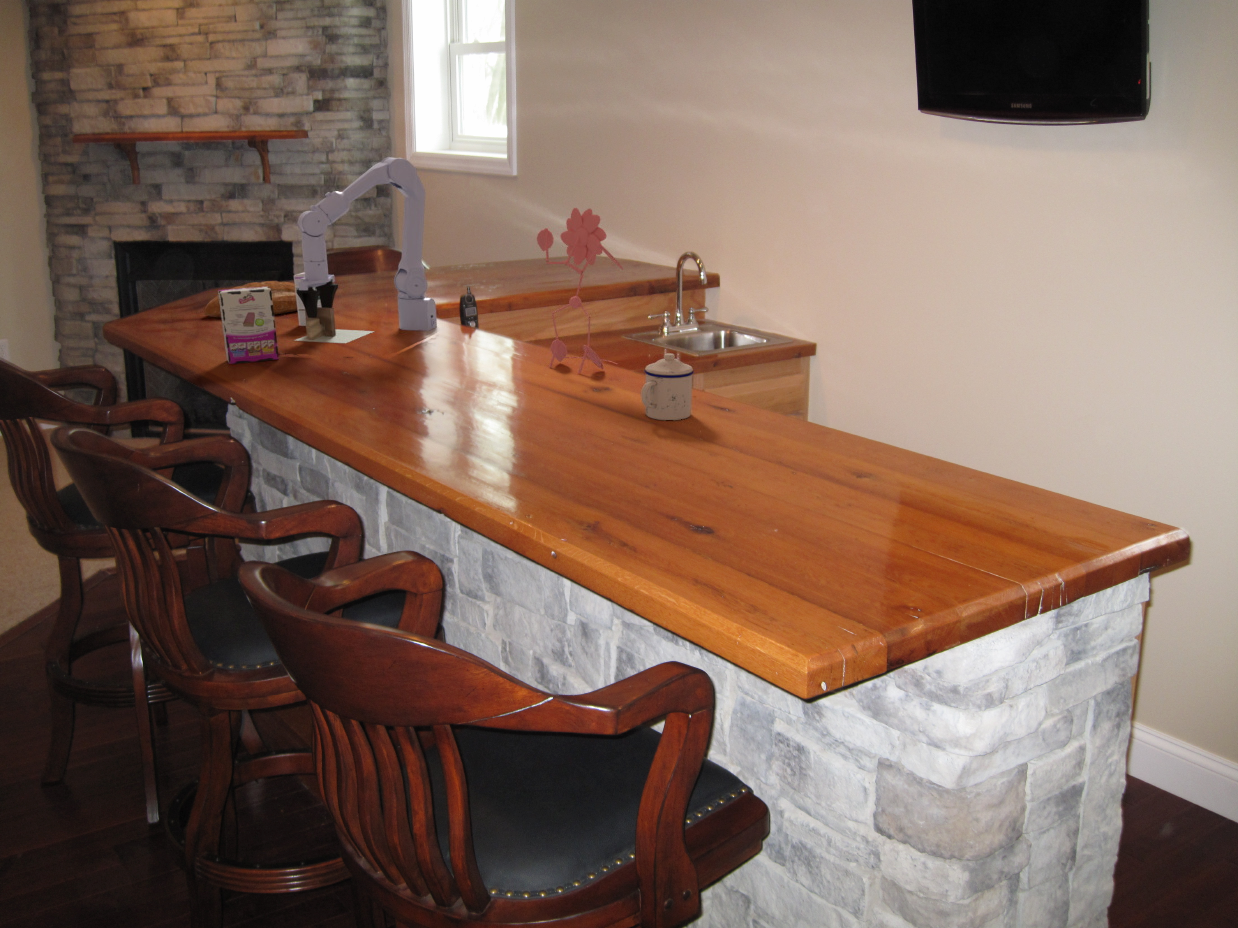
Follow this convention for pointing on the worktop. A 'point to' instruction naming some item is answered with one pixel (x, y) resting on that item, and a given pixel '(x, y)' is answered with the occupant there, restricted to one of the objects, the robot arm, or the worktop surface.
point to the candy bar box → (248, 324)
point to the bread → (280, 297)
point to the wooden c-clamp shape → (325, 320)
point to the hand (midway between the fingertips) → (319, 315)
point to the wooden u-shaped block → (314, 329)
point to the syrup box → (299, 303)
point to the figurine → (581, 245)
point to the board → (339, 336)
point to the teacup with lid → (668, 389)
